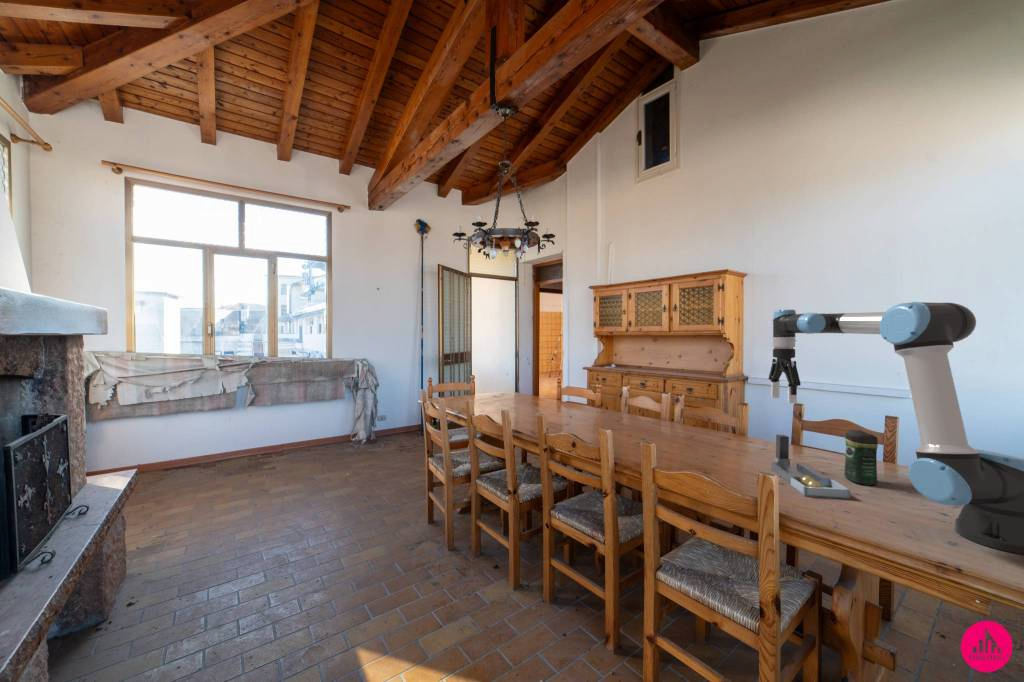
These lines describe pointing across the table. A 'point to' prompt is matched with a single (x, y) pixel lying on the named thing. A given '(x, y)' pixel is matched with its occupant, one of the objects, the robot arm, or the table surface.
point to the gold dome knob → (813, 483)
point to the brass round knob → (804, 479)
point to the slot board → (799, 473)
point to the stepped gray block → (782, 450)
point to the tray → (822, 490)
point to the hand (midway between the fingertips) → (783, 400)
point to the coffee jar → (861, 457)
